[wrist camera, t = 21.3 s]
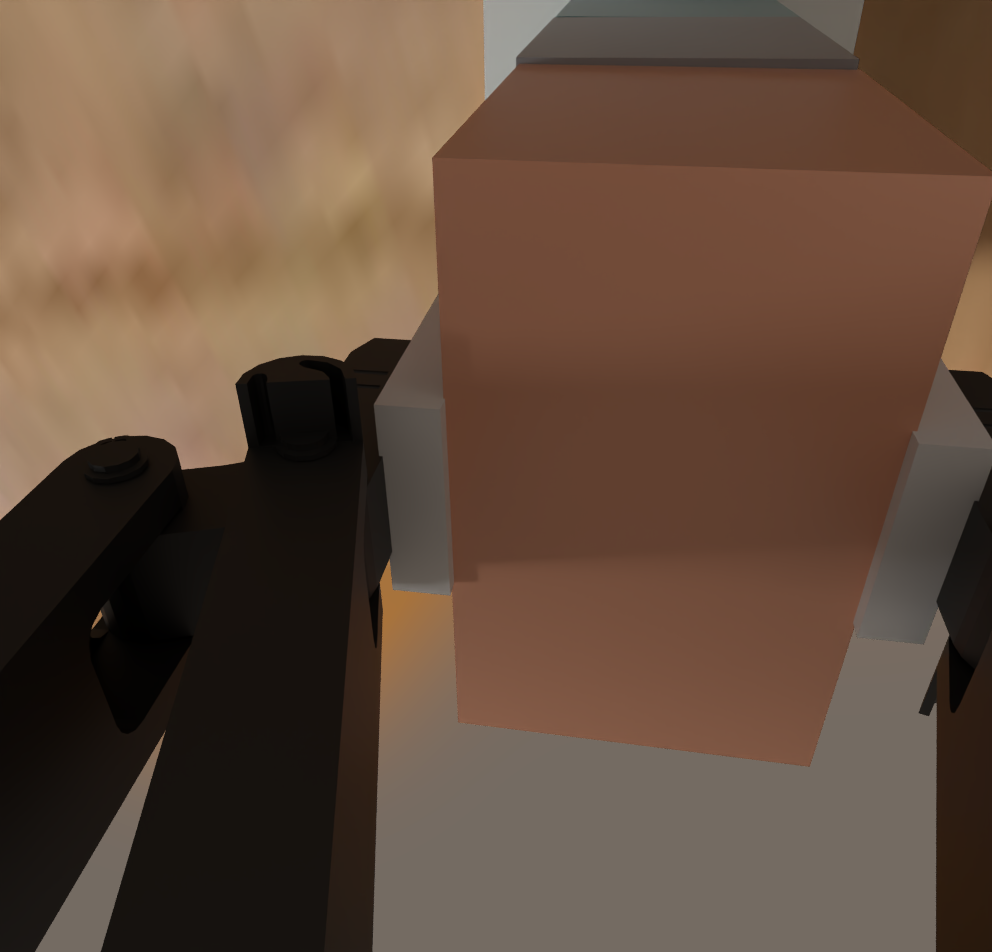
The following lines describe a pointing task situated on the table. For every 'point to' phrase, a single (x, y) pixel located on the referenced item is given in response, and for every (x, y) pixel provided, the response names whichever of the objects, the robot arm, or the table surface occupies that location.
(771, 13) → the teal base brick
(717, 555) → the terracotta brick
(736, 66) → the charcoal brick
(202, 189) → the table surface
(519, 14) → the baseplate
